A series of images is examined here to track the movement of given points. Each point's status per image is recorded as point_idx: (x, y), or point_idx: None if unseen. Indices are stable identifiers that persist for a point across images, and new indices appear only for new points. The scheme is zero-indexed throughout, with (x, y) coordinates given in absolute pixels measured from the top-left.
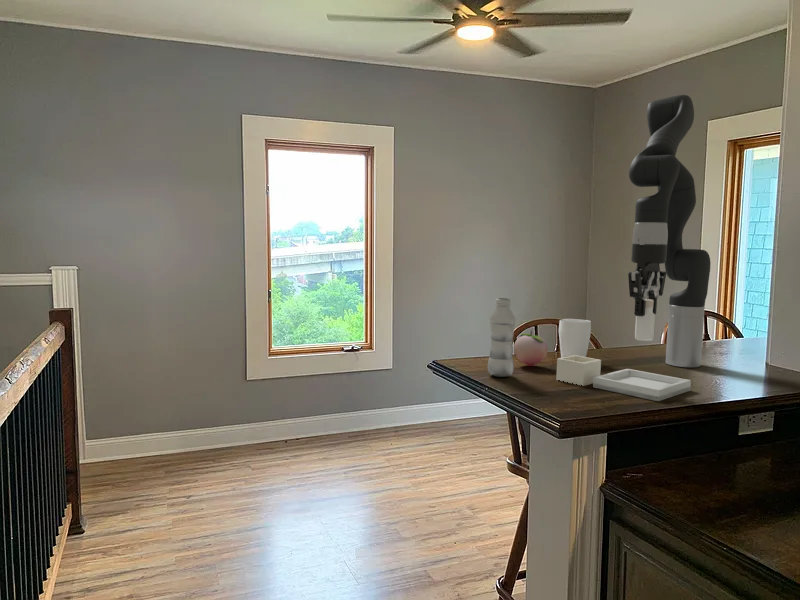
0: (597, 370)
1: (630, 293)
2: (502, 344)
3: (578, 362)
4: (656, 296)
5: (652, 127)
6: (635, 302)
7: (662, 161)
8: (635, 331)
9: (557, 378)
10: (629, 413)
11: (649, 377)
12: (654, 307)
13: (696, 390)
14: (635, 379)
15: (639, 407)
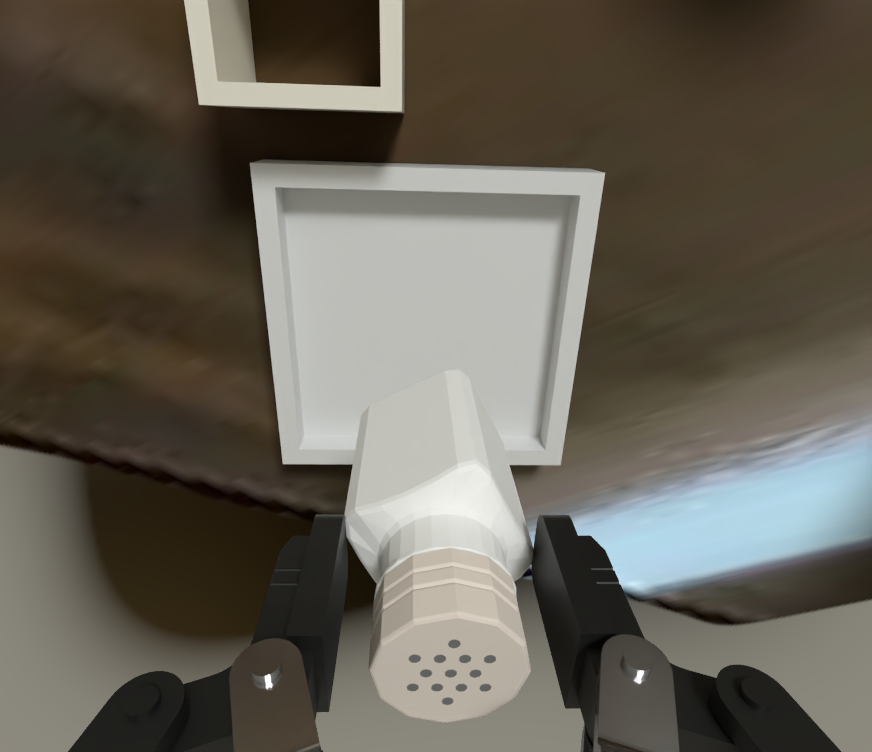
0: (369, 111)
1: (93, 732)
2: None
3: (192, 57)
4: (582, 745)
5: None
6: (256, 628)
7: None
8: (365, 428)
9: None
10: (59, 449)
11: (560, 301)
12: (544, 623)
13: (572, 452)
14: (508, 257)
15: (157, 436)
